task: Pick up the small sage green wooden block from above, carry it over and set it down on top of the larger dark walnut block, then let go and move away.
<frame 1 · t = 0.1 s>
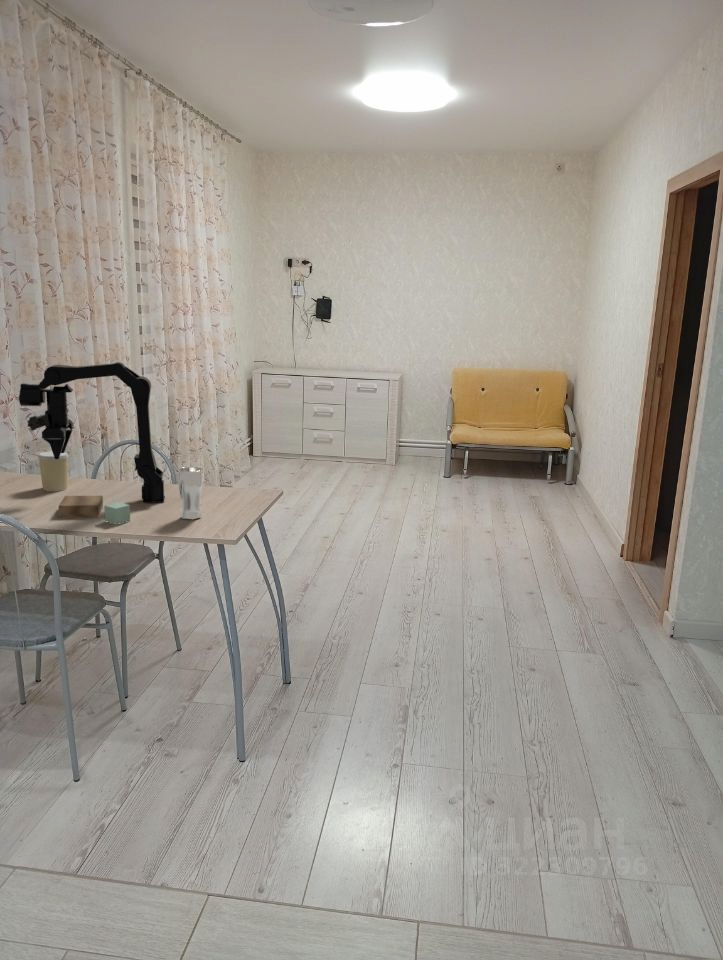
hand: (59, 456, 235), 15 cm above the table, tool pointing down, fingers open, 9 cm apart
sage block: (117, 521, 221), on the table
coffee cup: (55, 489, 253), on the table
walnut block: (81, 513, 228), on the table
beer glass: (191, 518, 228), on the table
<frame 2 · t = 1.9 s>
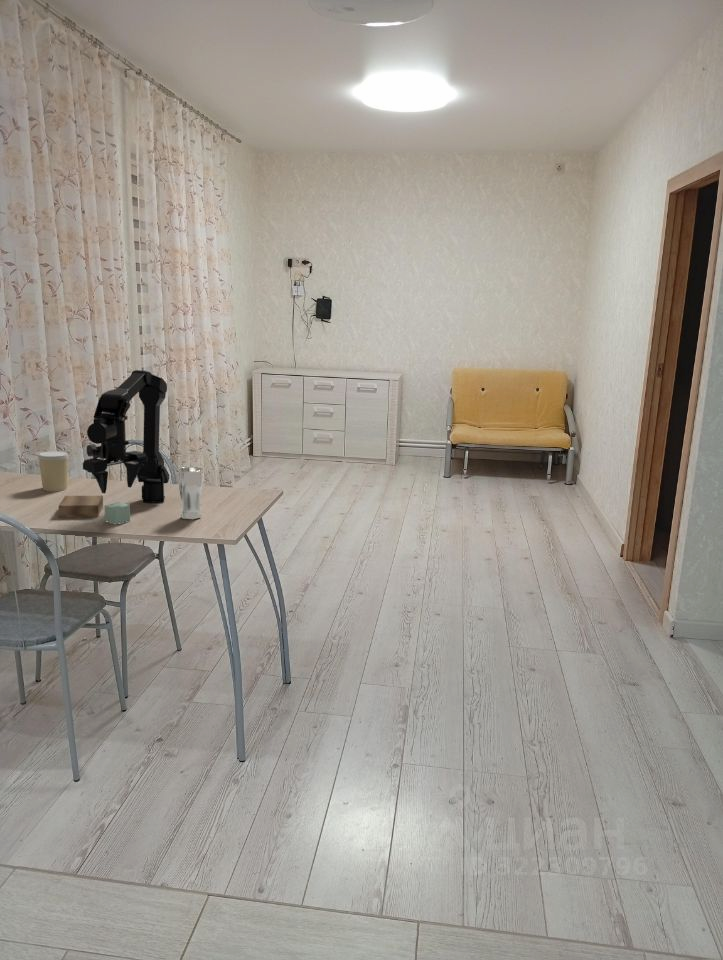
hand: (116, 490, 219), 9 cm above the table, tool pointing down, fingers open, 9 cm apart
nothing on the table moved.
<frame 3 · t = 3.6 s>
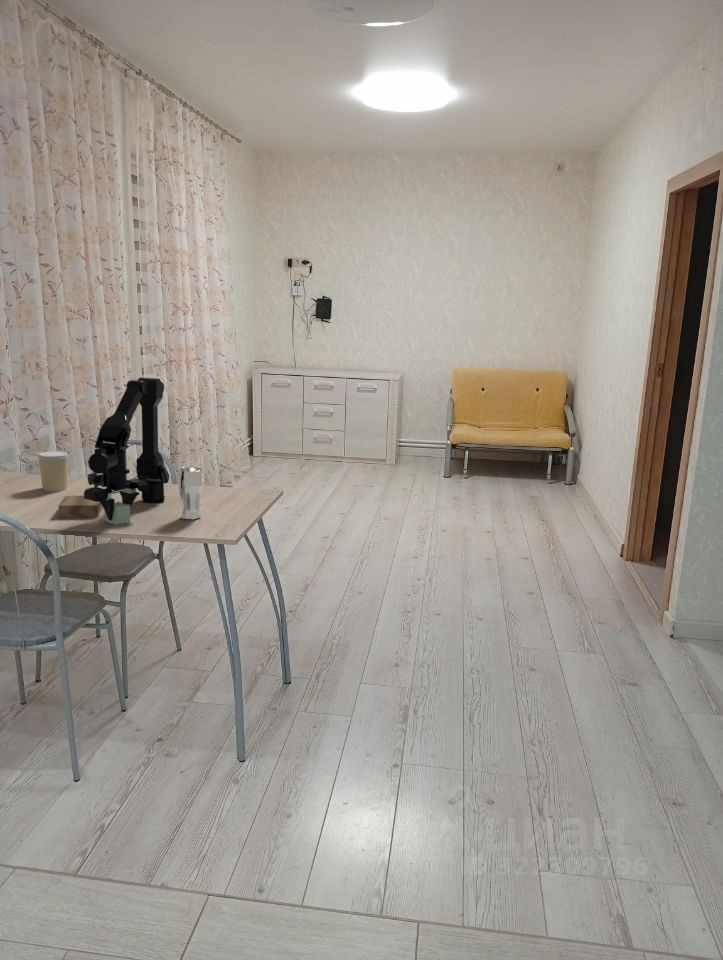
hand: (117, 518, 220), 1 cm above the table, tool pointing down, fingers closed on sage block, 5 cm apart
sage block: (117, 521, 221), on the table, touching gripper
everything else where it was.
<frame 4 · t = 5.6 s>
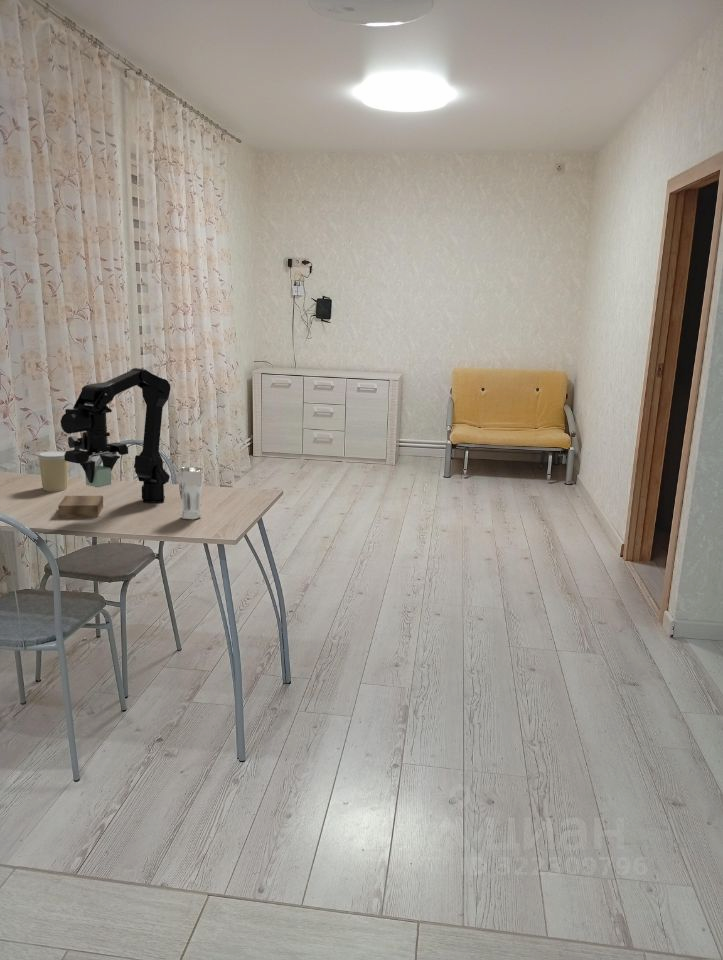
hand: (98, 481, 222), 11 cm above the table, tool pointing down, fingers closed on sage block, 5 cm apart
sage block: (98, 484, 222), point 10 cm above the table, touching gripper
everything else where it was.
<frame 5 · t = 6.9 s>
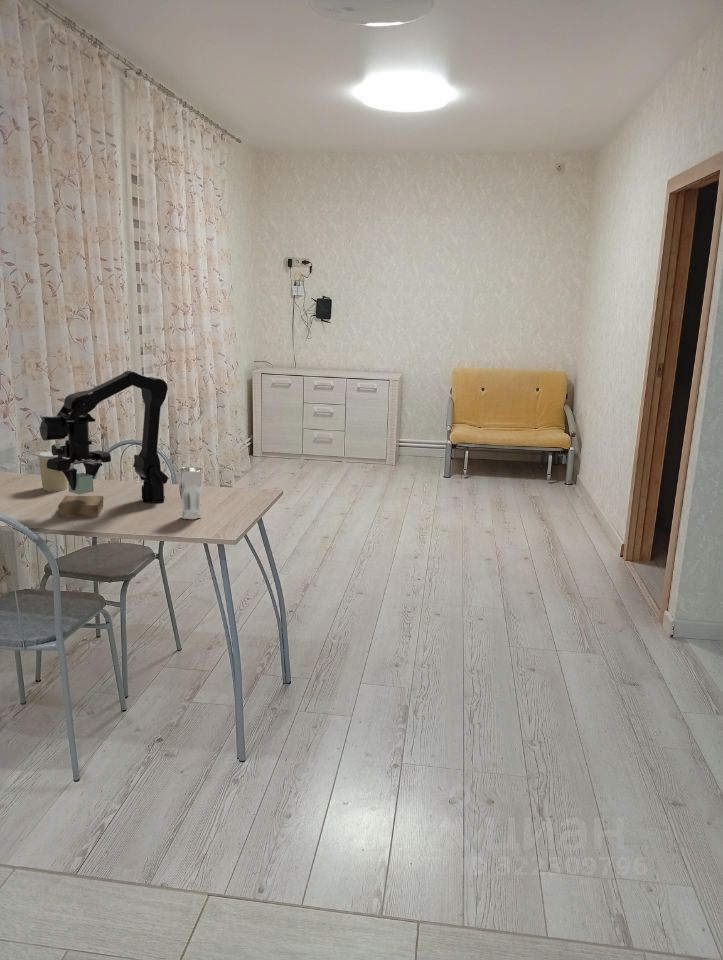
hand: (81, 488, 227), 7 cm above the table, tool pointing down, fingers closed on sage block, 5 cm apart
sage block: (81, 491, 227), point 6 cm above the table, touching gripper
everything else where it was.
when the fingers open (6 cm above the table, at t = 7.9 s): sage block drops 2 cm, resting on walnut block.
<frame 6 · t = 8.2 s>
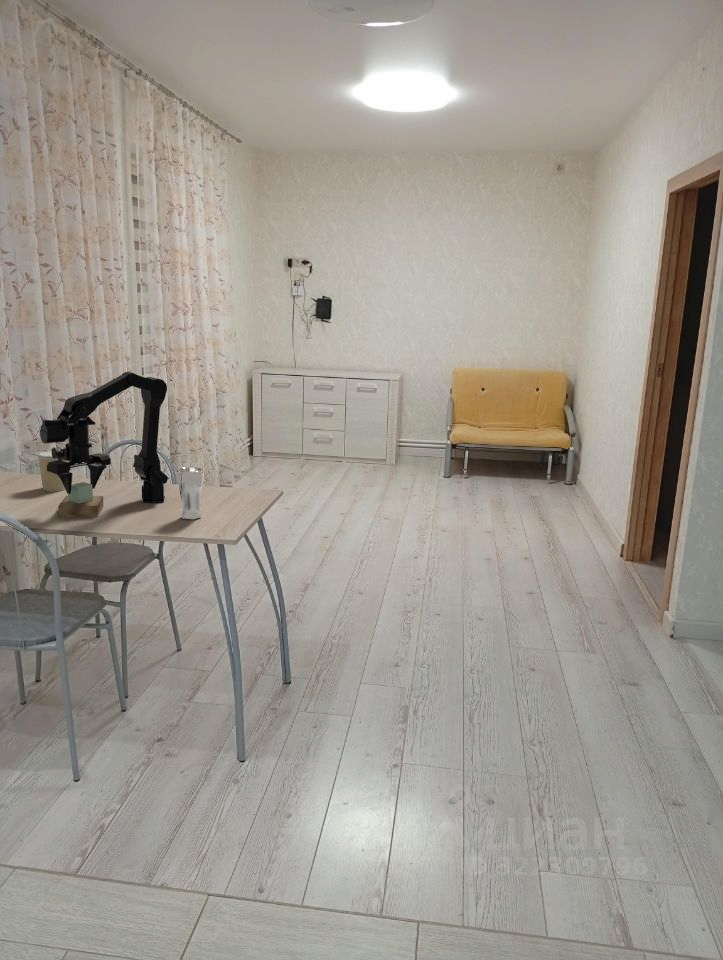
hand: (80, 491, 227), 6 cm above the table, tool pointing down, fingers open, 8 cm apart
sage block: (80, 500, 227), point 4 cm above the table, touching walnut block
walnut block: (81, 513, 228), on the table, touching sage block
everything else where it was.
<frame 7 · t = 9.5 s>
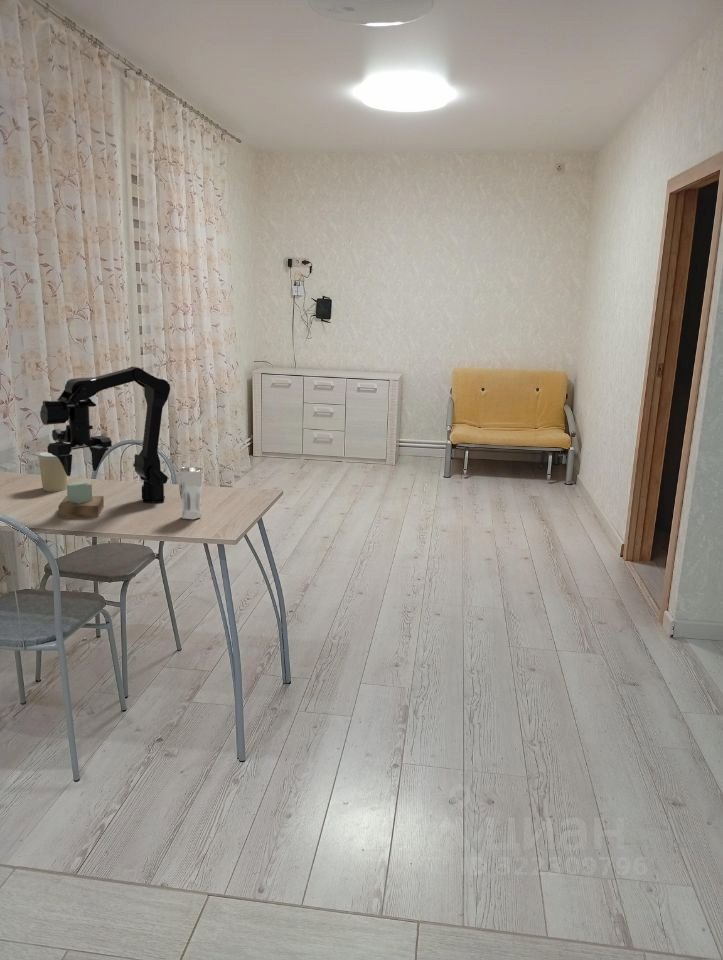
hand: (81, 473, 226), 12 cm above the table, tool pointing down, fingers open, 9 cm apart
nothing on the table moved.
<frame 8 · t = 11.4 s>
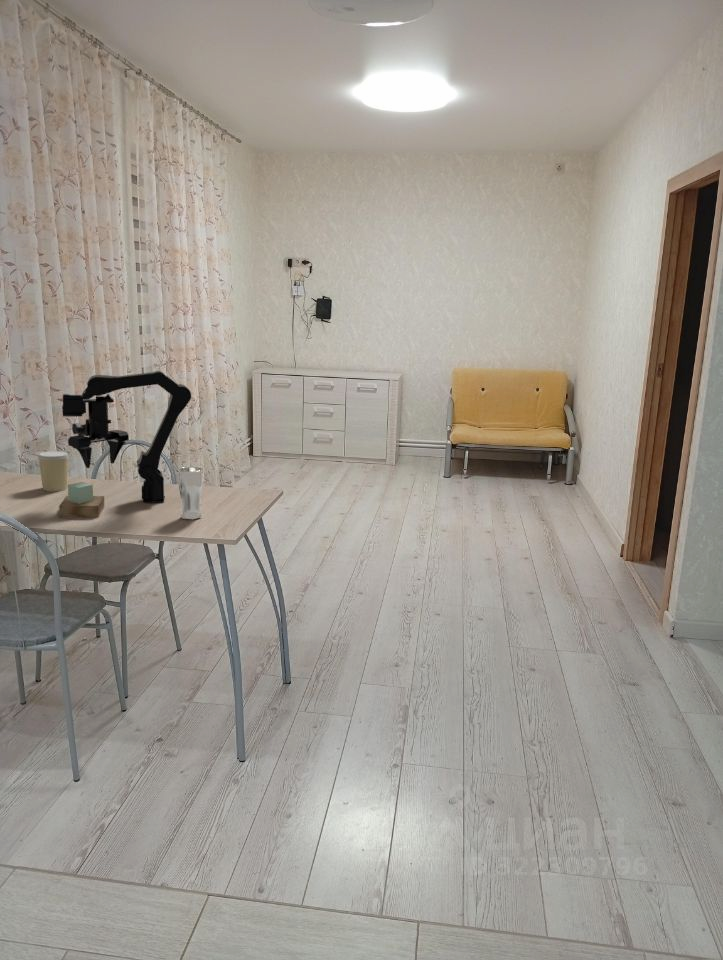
hand: (100, 465, 236), 12 cm above the table, tool pointing down, fingers open, 9 cm apart
nothing on the table moved.
at the end: sage block inside the target area on the walnut block (0.3 cm from its centre), point 4.0 cm above the walnut block's base; sage block tilted 0°; the gripper is holding nothing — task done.
